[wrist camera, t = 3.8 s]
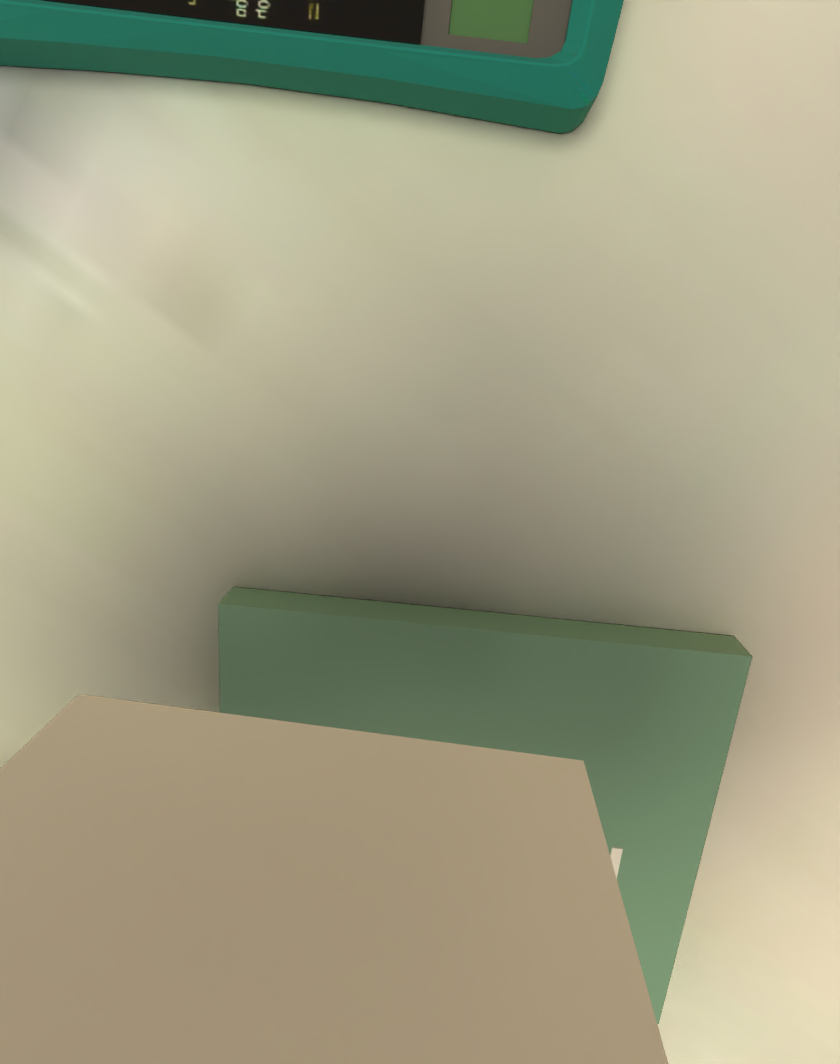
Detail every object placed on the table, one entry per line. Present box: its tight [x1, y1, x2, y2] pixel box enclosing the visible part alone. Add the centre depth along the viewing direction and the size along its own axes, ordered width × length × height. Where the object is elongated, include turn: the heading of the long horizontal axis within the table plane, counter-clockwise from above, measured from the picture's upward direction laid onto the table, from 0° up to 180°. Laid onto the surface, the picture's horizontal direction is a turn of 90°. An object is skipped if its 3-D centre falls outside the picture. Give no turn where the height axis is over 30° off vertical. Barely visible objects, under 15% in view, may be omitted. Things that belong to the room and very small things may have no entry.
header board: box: [218, 587, 752, 1024], centre depth 20 cm, size 14×13×1 cm
